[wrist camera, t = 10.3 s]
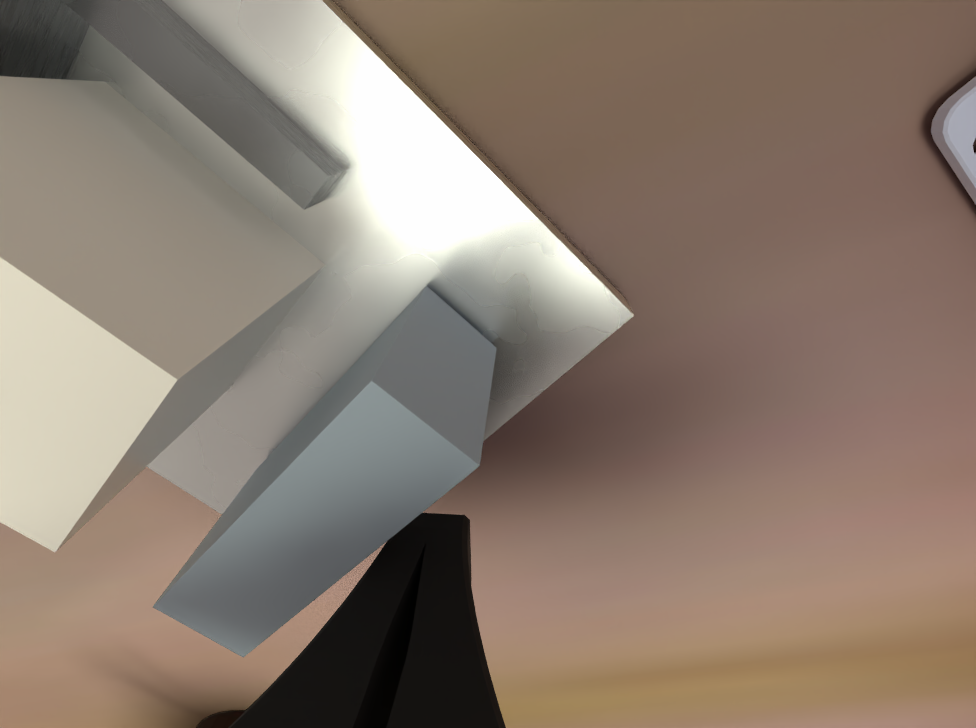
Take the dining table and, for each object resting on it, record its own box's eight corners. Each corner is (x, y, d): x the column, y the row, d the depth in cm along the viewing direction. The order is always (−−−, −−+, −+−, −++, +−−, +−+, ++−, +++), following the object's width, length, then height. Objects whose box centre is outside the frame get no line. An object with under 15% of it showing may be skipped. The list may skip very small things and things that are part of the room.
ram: (496, 347, 11) (479, 466, 7) (318, 513, 14) (243, 657, 10) (426, 285, 10) (371, 380, 7) (255, 470, 13) (152, 606, 9)
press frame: (626, 298, 11) (654, 357, 9) (332, 551, 16) (292, 639, 13) (34, -301, 8) (-222, -512, 5) (-128, 249, 12) (-308, 288, 10)
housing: (325, 264, 11) (161, 391, 6) (226, 391, 12) (38, 567, 8) (104, 81, 9) (-331, 58, 5) (28, 251, 11) (-348, 360, 6)
